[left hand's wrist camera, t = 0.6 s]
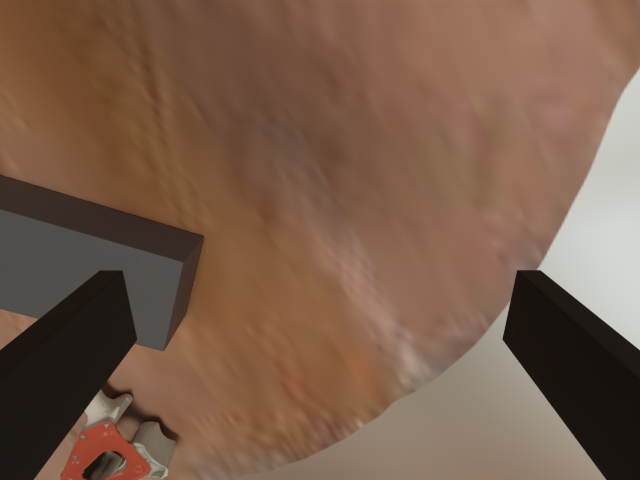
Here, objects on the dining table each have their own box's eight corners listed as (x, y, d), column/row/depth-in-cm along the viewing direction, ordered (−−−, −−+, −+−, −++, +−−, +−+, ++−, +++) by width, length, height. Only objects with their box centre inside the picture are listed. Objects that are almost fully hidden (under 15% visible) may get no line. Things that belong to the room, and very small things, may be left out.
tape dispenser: (63, 324, 45) (41, 447, 50) (29, 349, 39) (9, 484, 45) (206, 369, 46) (168, 484, 52) (190, 400, 41) (151, 524, 47)
